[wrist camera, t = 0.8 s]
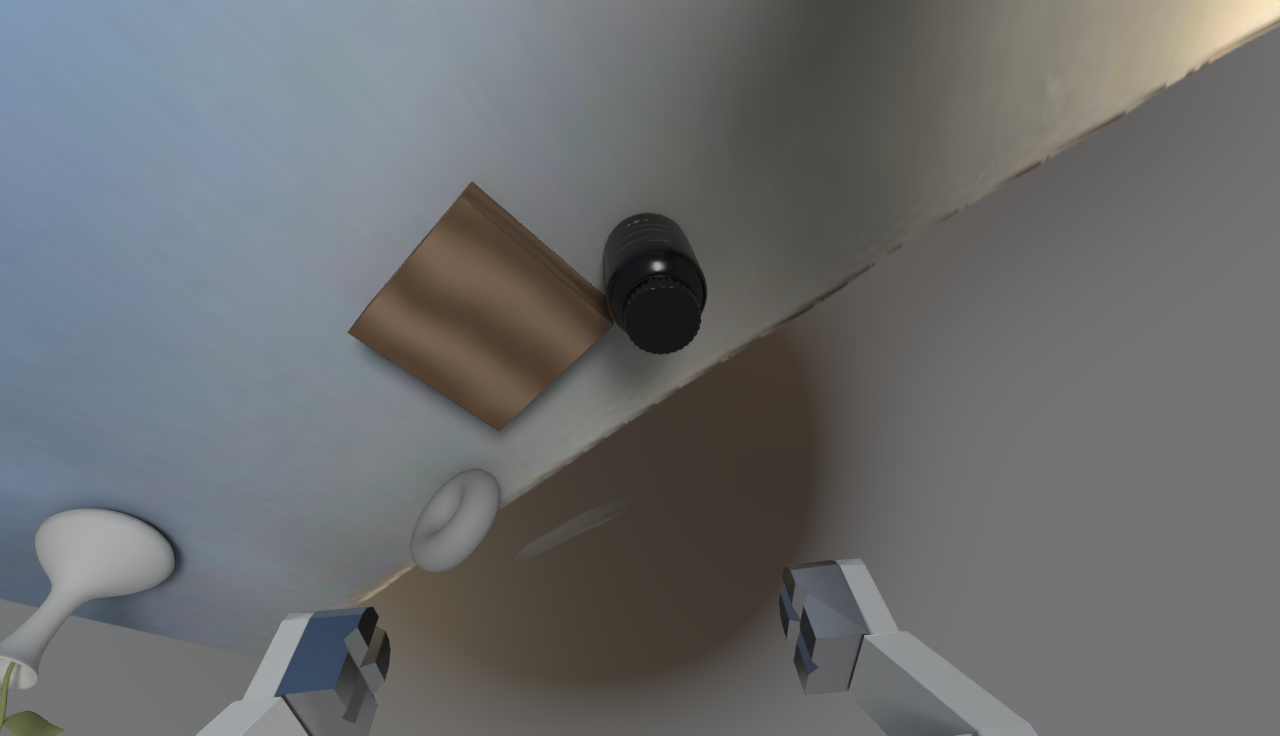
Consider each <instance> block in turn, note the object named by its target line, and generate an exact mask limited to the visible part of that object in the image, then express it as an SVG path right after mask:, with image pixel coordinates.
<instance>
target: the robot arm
mask: <svg viewBox="0 0 1280 736" xmlns="http://www.w3.org/2000/svg"><path fill="white" fill-rule="evenodd" d="M782 578H783V581H784V584H785V587H784V588H783V589H782V590H781V591H780V597H779V608H780V617H781V622H782V626H783V629H784V633H785V636H786V639H787V640H788V641H789V642H790V643H791V644H792V645H794V646H795V647H796V649H795V656H794V664H795V667H796V670H797V673H798V676H799V679H800V681H801V685H802V688H803V691H804V693H805V695H806V694H818V693H830V692H844V691H848V694H849V695H850V696H851V697H852V698H853V700H854V701H855V702H856V703H857V704H859V706H860V707H861V708H862V709H863V710H864V711H865V712H866V713H867V714H868V715H869V716H870V717H871V719H873V721H874V722H875V723H876V724H877V725H878V726H879V727H880V728H881V729H882V730H883V731H884V732H885V733H886V734H887V735H888V736H1037V734H1036V733H1035V731H1034V730H1033V728H1032V726H1031V725H1030V724H1028V723H1027V722H1026V721H1024V720H1023V719H1022V718H1021V717H1019V716H1018V715H1017V714H1015V713H1014V712H1013V711H1011V710H1010V709H1009V708H1007V707H1006V706H1005V705H1004V704H1002V703H1001V702H1000V701H998V700H997V699H996V698H994V697H993V696H991V695H990V694H989V693H988V692H987V691H985V690H984V689H983V688H981V687H980V686H979V685H977V684H976V683H975V682H973V681H972V680H971V679H969V678H968V677H967V676H966V675H964V674H963V673H962V672H960V671H959V670H958V669H956V668H955V667H954V666H952V665H951V664H950V663H949V662H947V661H946V660H945V659H943V658H942V657H940V656H939V655H938V654H937V653H935V652H934V651H933V650H931V649H930V648H929V647H927V646H926V645H925V644H924V643H922V642H921V641H920V640H918V639H917V638H916V637H914V636H913V635H912V634H910V633H909V632H908V631H899V629H898V627H897V625H896V623H895V621H894V620H893V618H892V616H891V614H890V612H889V610H888V608H887V606H886V604H885V602H884V600H883V598H882V597H881V595H880V593H879V591H878V589H877V587H876V585H875V583H874V581H873V580H872V577H871V575H870V574H869V571H868V570H867V568H866V566H865V564H864V562H863V561H862V560H861V559H859V558H853V559H844V560H836V561H833V560H828V561H819V562H810V563H801V564H793V565H786V566H785V567H784V569H783V574H782ZM378 618H379V616H378V615H377V613H376V611H375V609H374V607H362V608H349V609H337V610H324V611H310V612H300V613H290V614H289V615H288V616H287V617H286V618H285V619H284V620H283V621H282V622H281V624H280V626H279V628H278V630H277V632H276V634H275V636H274V638H273V640H272V642H271V644H270V646H269V648H268V650H267V652H266V654H265V656H264V658H263V660H262V662H261V664H260V666H259V668H258V670H257V672H256V674H255V676H254V678H253V680H252V682H251V684H250V685H249V687H248V690H247V691H246V694H245V695H244V698H243V699H242V700H239V701H234V702H232V703H231V704H230V705H229V706H228V707H227V708H226V709H225V710H224V711H222V712H221V713H220V714H219V715H218V716H217V717H216V718H215V719H214V720H212V721H211V722H210V723H209V724H208V725H207V726H206V727H205V728H203V729H202V730H201V731H200V732H199V733H198V734H197V735H196V736H368V735H369V731H370V728H371V725H372V722H373V718H374V715H375V712H376V709H377V703H376V701H375V698H374V695H373V693H374V692H375V691H376V690H377V689H378V688H379V687H380V686H381V685H382V684H383V682H385V679H386V675H387V672H388V668H389V660H390V650H391V649H390V643H389V638H388V636H387V633H386V631H385V630H383V629H381V628H379V627H378V626H376V624H377V621H378Z"/></svg>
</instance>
